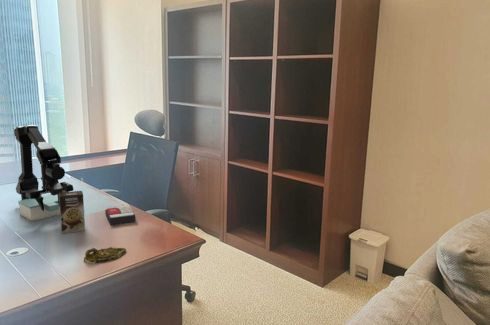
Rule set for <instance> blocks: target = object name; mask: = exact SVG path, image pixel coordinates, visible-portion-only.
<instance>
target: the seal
mask: <svg viewBox="0 0 490 325" xmlns="http://www.w3.org/2000/svg"><path fill="white" fill-rule="evenodd" d="M126 252H127V250H126V248H125V247H112V246H110V247H107V248H100V249H97V248H94V247H92V248H91V249H90V248H89V249H86V251H85V253H84V257H83V262H84V263H88V264H102V263H105V262H111V261H114V260H117V259H119V258H121V257H122V256H124V254H126Z"/></svg>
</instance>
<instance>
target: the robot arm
mask: <svg viewBox="0 0 490 325" xmlns="http://www.w3.org/2000/svg"><path fill="white" fill-rule="evenodd" d="M13 135H14V137H15V139H16V141H17V142H18V144H19V148H20V163H21V166H20V167H21V174H20V175H19V176H18V180H17V181H18V182H17V184H16V187H15V191H16V193H17V194H18V195H20V198H21V199H20V200H25V199H35V200H36V201H37V202H38V204H39V206H40V207H41V209H42V211H44V204H43V197H42V196H43V195H47V194H51V195H58V204H59V207H60V201H59V193H62V192H73V191H74V186H73V184H71V183H68V182H66V181H62V182H59V180H62V179H63V178H64V177H65V175H66V171H65V169H64V168H63V167H62V166H61V165H60V164H61V163H62V158H61V156H60V154H59V152H58V150H57V149H56V148H55V147H54V145H53V144H50V143H49V142H47V140H45V137H44V136H43V135H42V132H40V130H39V126H38V125H36V124H27V125H24V126H23V125H22V126H16V127H15V128H14V129H13ZM32 144H33V145H34V147H35V149H36V153H35V155H36V158H37V160H38V162H39V165H40V171H41V177H40V180H41V183H42V186H41V189H39V182H40V181H39V180H38V177H37V176H36V175H35V174H34V171H33V170H34V169H33V152H32Z"/></svg>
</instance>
